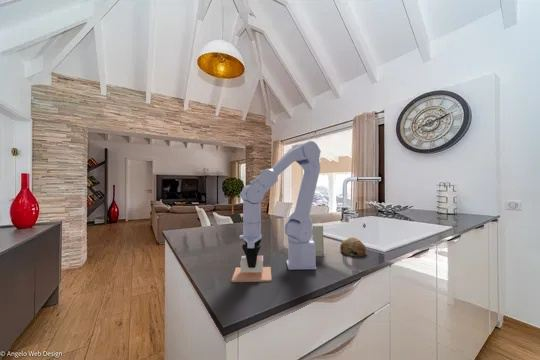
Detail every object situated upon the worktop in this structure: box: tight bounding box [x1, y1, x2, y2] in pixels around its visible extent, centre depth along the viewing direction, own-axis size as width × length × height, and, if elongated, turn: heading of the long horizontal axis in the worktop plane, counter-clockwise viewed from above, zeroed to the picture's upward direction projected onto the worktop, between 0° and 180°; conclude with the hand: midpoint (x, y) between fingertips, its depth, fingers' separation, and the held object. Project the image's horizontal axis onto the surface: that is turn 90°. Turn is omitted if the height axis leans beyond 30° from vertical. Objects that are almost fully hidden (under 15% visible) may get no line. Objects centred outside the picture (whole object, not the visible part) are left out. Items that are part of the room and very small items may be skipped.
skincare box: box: [312, 223, 325, 257], centre depth 90 cm, size 6×4×12 cm
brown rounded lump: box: [339, 237, 367, 257], centre depth 92 cm, size 10×10×8 cm
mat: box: [231, 266, 272, 283], centre depth 71 cm, size 12×10×1 cm
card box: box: [239, 255, 264, 273], centre depth 71 cm, size 5×7×4 cm
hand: (252, 264), depth 71 cm, fingers closed on card box, 5 cm apart
